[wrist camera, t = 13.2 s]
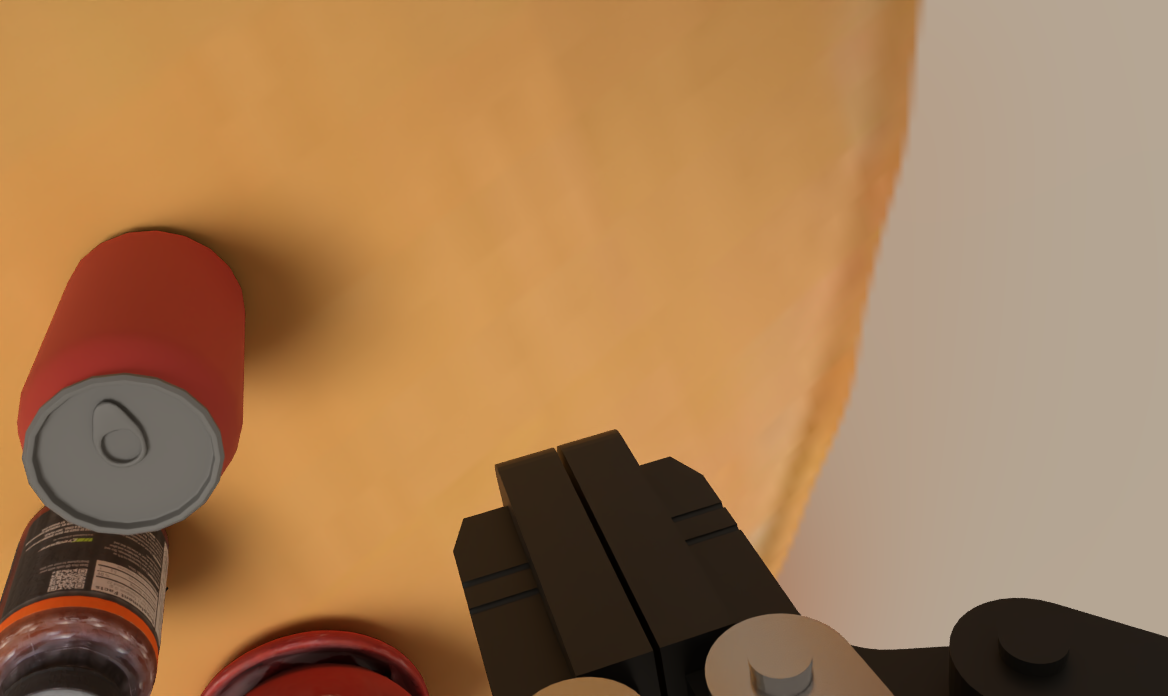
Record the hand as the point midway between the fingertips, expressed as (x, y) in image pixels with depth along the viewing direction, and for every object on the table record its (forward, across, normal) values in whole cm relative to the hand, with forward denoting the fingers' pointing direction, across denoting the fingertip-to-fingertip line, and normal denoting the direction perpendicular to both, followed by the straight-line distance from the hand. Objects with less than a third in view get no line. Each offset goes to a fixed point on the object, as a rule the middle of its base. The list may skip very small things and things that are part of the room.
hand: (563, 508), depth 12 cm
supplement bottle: (+31, +16, +18) cm, 39 cm away
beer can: (+31, +10, +8) cm, 34 cm away
